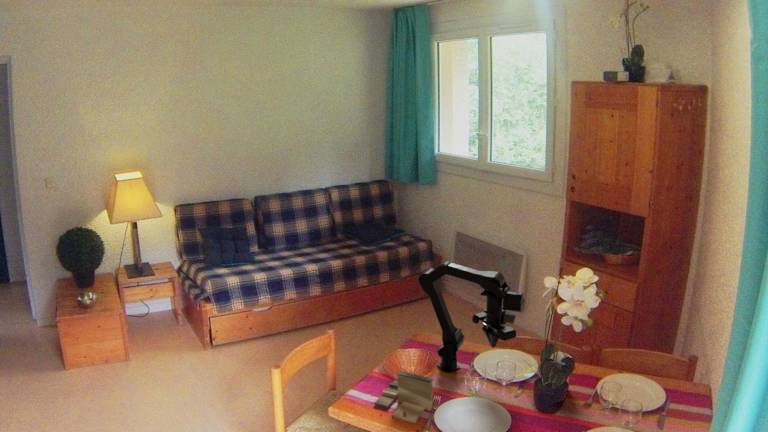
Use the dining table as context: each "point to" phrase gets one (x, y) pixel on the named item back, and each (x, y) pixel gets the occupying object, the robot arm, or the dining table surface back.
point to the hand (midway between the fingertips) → (493, 347)
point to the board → (388, 396)
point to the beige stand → (413, 396)
